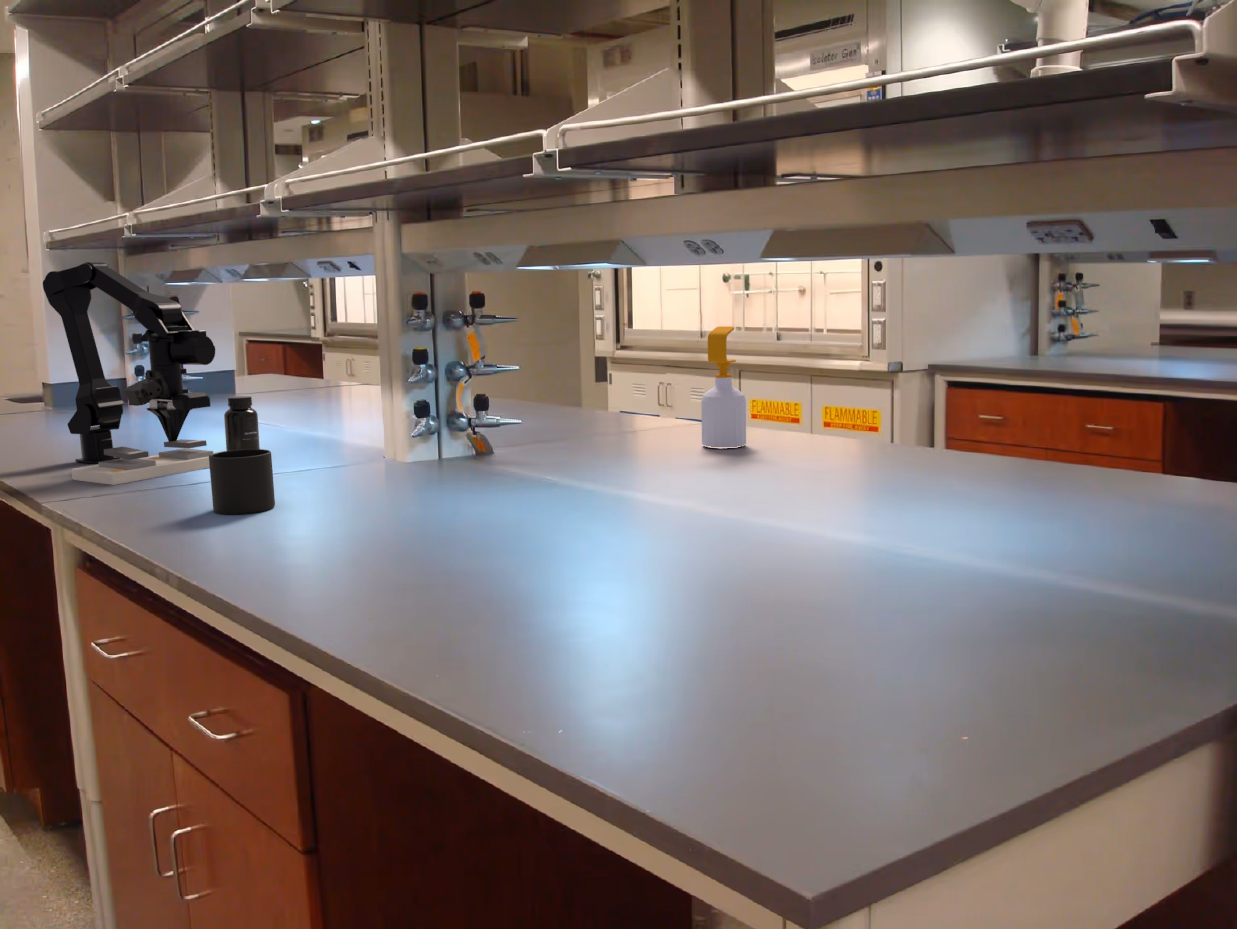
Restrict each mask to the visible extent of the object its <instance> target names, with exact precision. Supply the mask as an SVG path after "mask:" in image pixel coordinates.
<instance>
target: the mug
mask: <svg viewBox="0 0 1237 929" xmlns="http://www.w3.org/2000/svg"><path fill="white" fill-rule="evenodd" d="M213 453H214V454H211V455H209V465H210V468H209V474H210V475H209V476H210V486H211V489H210V490H211V498H212V509H213V512H214V513H216V514H219V515H227V516H228V515H229V516H236V515H238V516H239V515H251V514H258V513H262V512H266V511H269V510H272V509H273V508H274V507H275V505H276V499H275V487H274V486H275V485H274V474H273V472H274V471H273V460H272V459H273V458H272V451H270V450H268V449H262V448H260V449H241V450H230V451H227V450H223V451H218V452H213Z"/></svg>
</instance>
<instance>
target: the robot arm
mask: <svg viewBox="0 0 1237 929" xmlns="http://www.w3.org/2000/svg"><path fill="white" fill-rule="evenodd" d="M42 288H43V292H44V294H45V296H46V299H47V301H48V304H49V305H50V307H51V308H53V309H54V311H55V312H56V313H57V314H58V315H59V316H60V317H61V321H62V324H63V329H64V332H65V336H66V339H67V344H68V347H69V351H70V354H71V357H72V360H73V361H72V362H73V365H74V368H75V372H76V375H77V380H78V383H79V385H78V388H77V389H78V390H77V391H76V392H77V393H76V395H75V399H74V400H75V405H76V411H74V414H73V415H72V416H71V418H70V420H69V421H68V422H67V427H68V430H69V434H71V435H79V441H80V448H81V449H80V450H81V458H75V459H74V460H75V462H78V463H85V464H86V463H87V464H97V463H98V462H102V461H108V460H115V459H121V458H118V457H113V456H108V455H104V449H110V448H114V444H113V443H114V442H113V438H112V430H119V429H120V425H121V420H122V416H123V414H124V408H123V406H124V405H125V402H124V400H122V395H121V390H120V388H119V386H118V385H113V386H112V385H111V384H110V383H109V381H107V379H106V377H105V376H106V375H105V374H104V369H103V366H102V362H101V359H100V355H99V351H98V347H97V342H96V340H95V336H94V333H93V329H92V324H91V322H90V316H89V314H88V312H89V307H90V304H91V302H92V292H91V291H93V290H95V289H99V290H100V291H102V292H103V293H105V294H107V295H108V296H109V297H111V298H112V299H114V300H116V301H117V302H119V303H120V304H122V305H123V306H125V307H126V308H128V309H129V310H130V311H131V312H132V314H133V317H134V319H135V320H136V321H137V322H138V323H139V324H141V325H142V327H144V328H145V329H146V331H145V332H144V334H142V335H141V336H140V337H139V338H138V339H139V342H141V343H142V342H143V343H145V342H146V343H147V342H148V351H149V352H148V353H149V364H150V369H146V370H145V373H144V376H145V378H144V379H141V380H139V381H137V382H135V383H132V384H131V385H129V386H127V387H125V388H124V389H123V392H124V393H125V396H126V398H127V401H128V406H132V407H133V406H136V407H139V406H145V405H147V404H149V407H147V408H145V409H146V410H147V411H148V412H150V413H152V414H153V415H155V416H156V418H157V419H158V420H159V422H160V425H161V426H162V429H163V431H164V433H165V436H166V439H167V440H168V441H176V440H178V438H179V435H180V434H181V431H182V429H183V426H184V424H185V421H186V418H187V417H188V415H189V413H190V411H192V410H195V409H201V408H210V407H211V396H210V395H209V394H207V393H206V392H197V391H195V392H189V388H184V381H183V375H186V374H188V373H187V368H182V365H183V366H184V365H185V366H186V365H187V366H188V365H189V366H191V365H193V366H197V365H198V366H206V365H207V366H208V365H209V364H211V363H213V361H214V359H215V357H216V346H215V345H214V342H213V341H212V339H211V338H210V337H209V336H208V335H207V330H206V329H200V330H199V329H198V330H197V329H195V328H194V327H193V325H192V324H191V323H190V321H189V319H188V318H187V317H186V315H185V313H184V312H183V310H182V306H181V304H180V303H179V302H177V300H176V301H175V300H173V299H170V298H168V297H165V296H163V295H158V294H154V293H151V292H149V291H147V290H145V289H143V288H142V287H141V286H139V285H137V284H136V283H134V282H133V281H131V280H129V279H127V278H126V277H125V276H123V275H122V274H120V273H118V272H117V271H116V270H114V269H112V268H111V267H110V265H108V264H107V263H105V262H102V261H100V262H99V261H91V262H90V261H88V262H87V261H86V262H84V263H81V264H79V265H77V266H74V267H70V268H67V269H62V270H52V271H51V270H50V271H49V272H47V274H46V275H45V277H44V280H42ZM168 441H167V442H168Z"/></svg>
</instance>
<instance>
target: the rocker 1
mask: <svg viewBox="0 0 1237 929" xmlns="http://www.w3.org/2000/svg"><path fill="white" fill-rule="evenodd" d="M104 455H108V456H113V457H118V458H123V459H127V460H132V459H138V458H145V457H149V456H150V455H149V451H147V450H141V449H137V448H132V447H127V446H119V447H113V448H110V449H104Z"/></svg>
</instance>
